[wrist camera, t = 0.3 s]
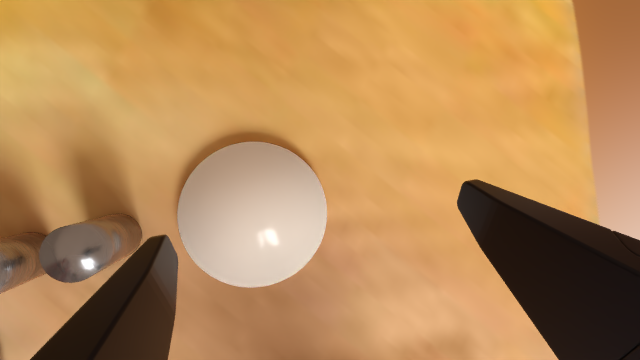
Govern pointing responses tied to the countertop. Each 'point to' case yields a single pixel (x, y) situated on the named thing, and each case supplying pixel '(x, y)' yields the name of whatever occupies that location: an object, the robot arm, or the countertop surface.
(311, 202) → the coaster
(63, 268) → the spacer field
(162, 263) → the robot arm
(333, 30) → the countertop surface
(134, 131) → the countertop surface
